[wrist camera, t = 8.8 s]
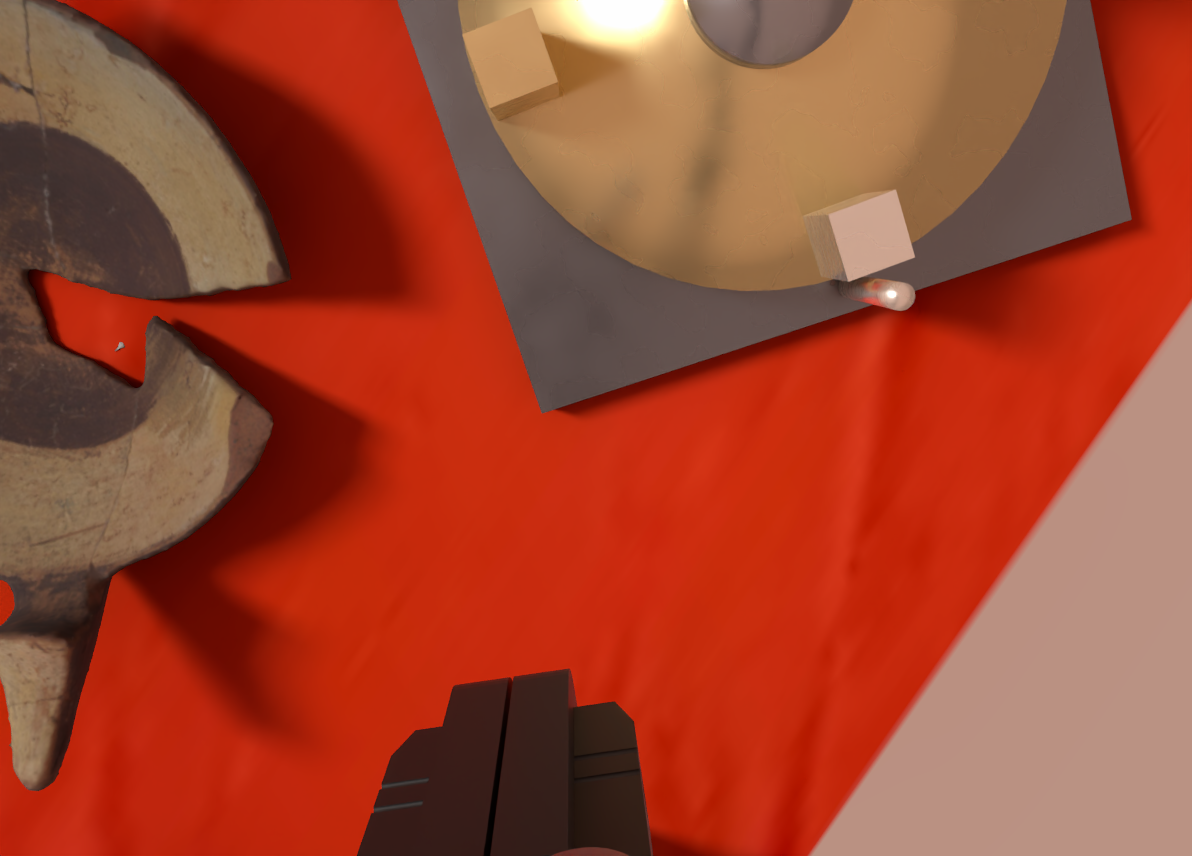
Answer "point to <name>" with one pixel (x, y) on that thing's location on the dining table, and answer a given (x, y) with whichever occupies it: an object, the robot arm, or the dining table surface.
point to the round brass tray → (759, 122)
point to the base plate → (741, 318)
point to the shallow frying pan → (92, 393)
